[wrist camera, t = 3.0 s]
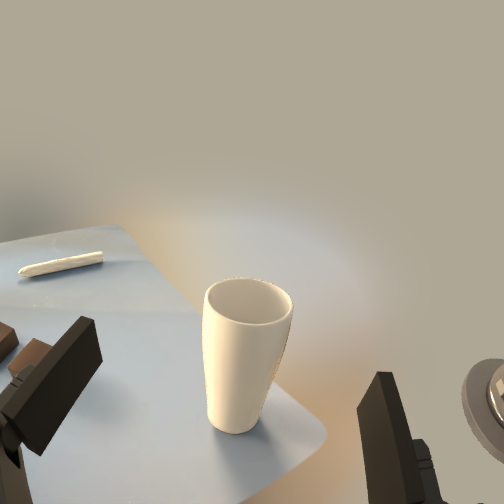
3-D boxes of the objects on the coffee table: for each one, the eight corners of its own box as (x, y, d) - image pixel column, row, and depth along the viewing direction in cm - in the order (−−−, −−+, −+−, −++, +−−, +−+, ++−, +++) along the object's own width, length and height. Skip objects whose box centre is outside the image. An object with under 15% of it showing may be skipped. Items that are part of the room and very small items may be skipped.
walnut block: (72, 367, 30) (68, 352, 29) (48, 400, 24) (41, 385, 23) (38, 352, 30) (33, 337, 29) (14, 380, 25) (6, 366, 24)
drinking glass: (224, 383, 32) (236, 268, 27) (276, 410, 30) (308, 296, 24) (187, 419, 27) (184, 299, 21) (243, 453, 24) (268, 340, 18)
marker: (19, 281, 43) (16, 269, 42) (19, 276, 44) (16, 265, 43) (103, 263, 54) (102, 252, 53) (101, 259, 55) (100, 248, 54)
